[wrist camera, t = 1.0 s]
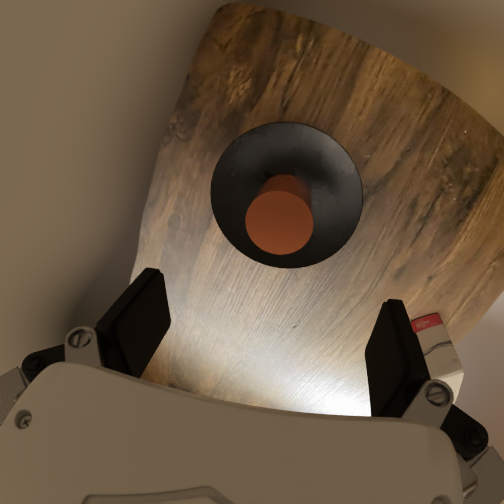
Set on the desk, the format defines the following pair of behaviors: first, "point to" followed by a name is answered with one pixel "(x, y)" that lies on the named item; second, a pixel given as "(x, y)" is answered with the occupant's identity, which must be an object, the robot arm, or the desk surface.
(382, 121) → the desk surface
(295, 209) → the orange cylinder
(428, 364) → the ink box
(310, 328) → the desk surface
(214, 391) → the desk surface
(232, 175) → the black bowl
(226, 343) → the desk surface
